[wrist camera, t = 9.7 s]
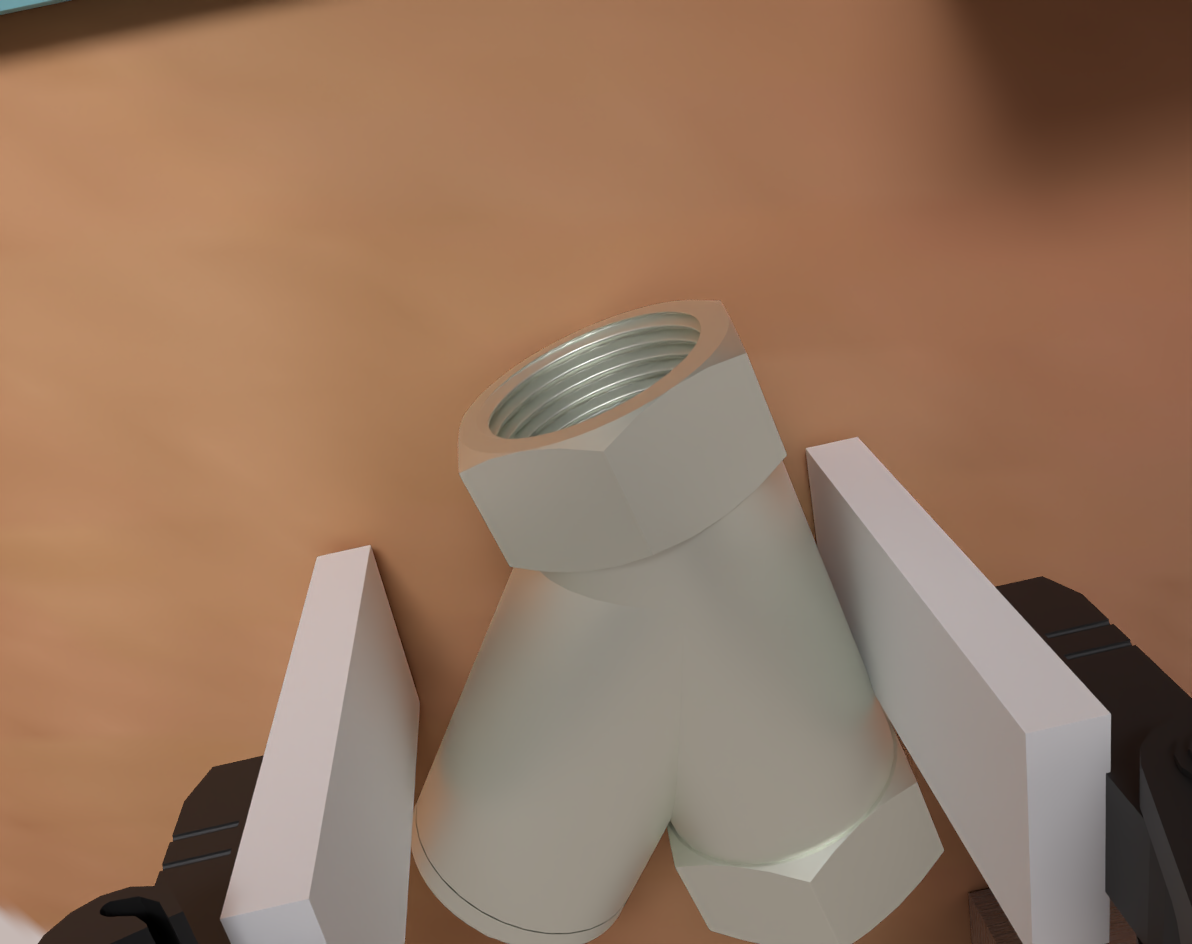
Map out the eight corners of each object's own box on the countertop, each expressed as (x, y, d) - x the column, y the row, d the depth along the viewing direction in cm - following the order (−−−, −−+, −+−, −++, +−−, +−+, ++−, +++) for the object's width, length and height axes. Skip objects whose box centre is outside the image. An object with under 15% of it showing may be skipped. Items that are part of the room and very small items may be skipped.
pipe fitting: (503, 858, 18) (887, 720, 17) (491, 1075, 15) (973, 916, 14) (250, 466, 15) (705, 268, 14) (157, 621, 11) (757, 372, 10)
